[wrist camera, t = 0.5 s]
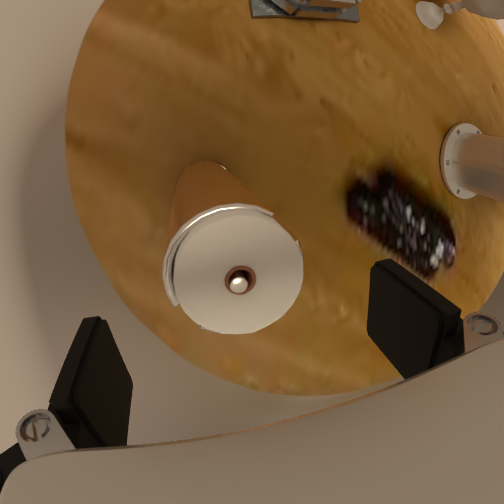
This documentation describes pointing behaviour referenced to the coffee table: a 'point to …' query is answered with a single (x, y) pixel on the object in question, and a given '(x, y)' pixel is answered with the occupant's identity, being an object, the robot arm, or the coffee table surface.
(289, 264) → the silver metal cylinder
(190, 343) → the coffee table surface
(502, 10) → the chalice
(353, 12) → the collar stand
